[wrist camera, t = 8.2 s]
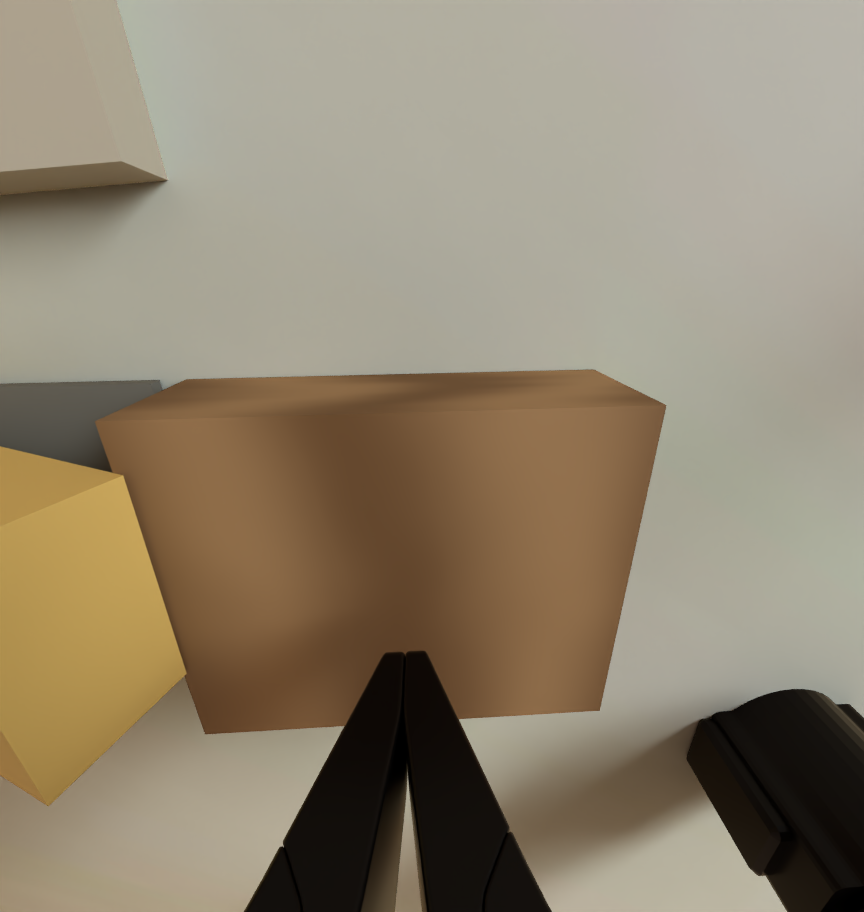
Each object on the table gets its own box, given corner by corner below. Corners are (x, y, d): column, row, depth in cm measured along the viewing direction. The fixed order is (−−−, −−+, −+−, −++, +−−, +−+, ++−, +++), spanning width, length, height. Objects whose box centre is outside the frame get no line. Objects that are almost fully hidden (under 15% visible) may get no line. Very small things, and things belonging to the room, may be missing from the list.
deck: (594, 369, 11) (666, 405, 8) (558, 617, 15) (599, 710, 12) (186, 379, 11) (94, 421, 8) (250, 633, 15) (204, 734, 11)
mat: (159, 379, 11) (151, 383, 11) (229, 634, 14) (225, 643, 14) (-203, 388, 11) (-225, 392, 10) (-40, 647, 14) (-52, 657, 14)
